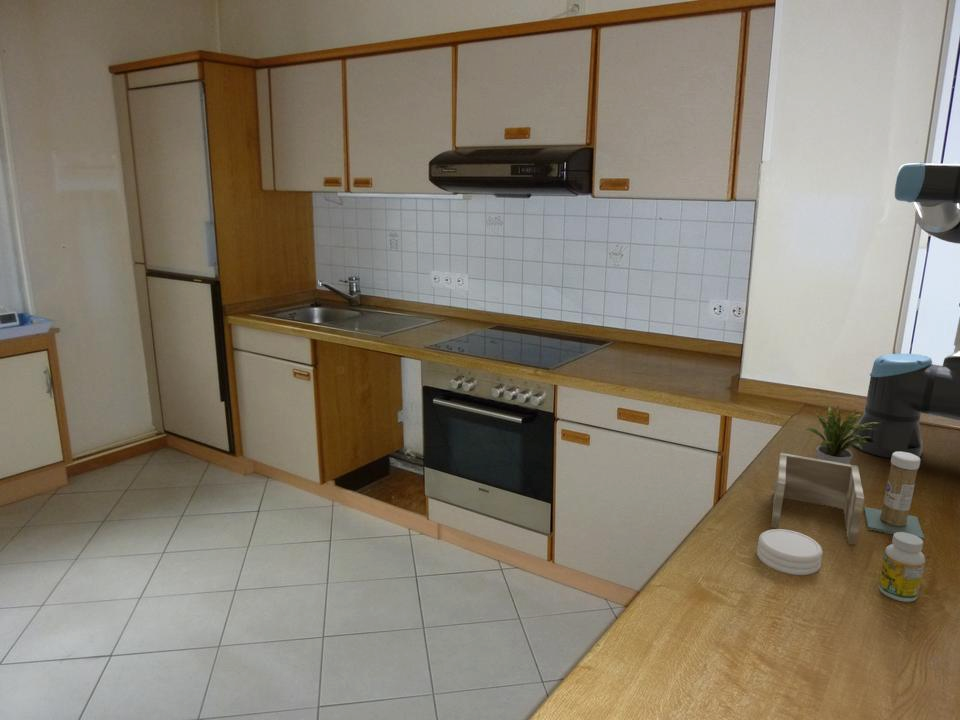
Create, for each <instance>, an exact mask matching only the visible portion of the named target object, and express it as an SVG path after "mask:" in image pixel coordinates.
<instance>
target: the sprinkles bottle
mask: <svg viewBox="0 0 960 720" xmlns="http://www.w3.org/2000/svg"><path fill="white" fill-rule="evenodd" d="M890 465H891V466H890V470H889V475H888V480H887V482H886V483H887V484H886V486H885V487H886V488H885V493H884V497H883V502H882V508H881V510H882V512H881V515H880V519H881V520H882V521H883V522H885V523H887V524H890V525H894V526H905V525H906V524H907V517H908V515H909V512H910V508H911V504H912V499H913V497H914V496H913V494H914V489H915V485H916V479H917V474H918V473H917V472H918V470H919V468H920V466H921V458H920V457H918V456H916V455H914V454H911V453H907V452H894V453H893V454H892V458H890Z"/></svg>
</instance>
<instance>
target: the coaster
mask: <svg viewBox="0 0 960 720" xmlns="http://www.w3.org/2000/svg"><path fill="white" fill-rule="evenodd" d="M823 553H824V552H823V548H822V546H821V544H820V543H818V542H817V541H816V540H815V539H813V538H812V537H810V536H808V535H806V534H803V533H801V532H798V531H795V530H789V529H782V528H778V529H777V528H772V529H769V530H765V531H763V532H761V534H759V536H758V542H757V549H756V554H757V557H758V559H759V560H760V561H761V562H762V563H763V564H764V565H766V566H767V567H769V568H770V569H773V570H776V571H777V572H781V573H782V574H783V573H784V574H789V575H793V576H808V575H813V574H815V573H817V572H818V571H819V570H820V568H821V562H822V556H823Z"/></svg>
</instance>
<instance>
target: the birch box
mask: <svg viewBox="0 0 960 720" xmlns="http://www.w3.org/2000/svg"><path fill="white" fill-rule="evenodd" d="M777 466H778V467H777V473H776V479H775V486H774V492H773V503H772V514H771V528H772V527H773V528H772V529H777V528H778V529H779V528H780V527H779V525H780V520H781V519H780V518H781V513H782V507H783V500H784V499H787V500H788V499H789V500H794V501H799V502H804V503H810V504H814V503H815V505H819V504H822V505H821V506H824V505H826V506H825V507H829V506H831V507H830V508H835V507H837V508H836V509H840V508H843V509H842V510H843V515H844V514H845V516H844V522H846V524H845V530H846V529H847V531H846V537H848V539H847V544H849V543H851V544H850V545H854V546H855V545H856V544H857V540H858V533H859V528H860V524H861V519H862V512H863V509H864V502H865V496H864V490H863V487H862V481H861V476H860V471H859V466H858V465H856V464H855V465H854V464H844V463H838V462H832V461H826V460H820V459H817V458H813V457H806V456H802V455H796V454H789V453H784V452H780V453H779V460H778V465H777Z"/></svg>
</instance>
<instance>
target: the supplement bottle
mask: <svg viewBox="0 0 960 720" xmlns="http://www.w3.org/2000/svg"><path fill="white" fill-rule="evenodd" d="M891 542H892V543H891V544H889V545H887V546H886V548H885V549H884V555H883V561H882V566H881V572H880V576H879V577H880V578H879V582H878V589H879V590H880V592H881V593H882V594H884V595H885V596H886V597H888V598H890V599H892V600H895V601H899V602H904V603H910V602H914V601H916V599H918V595H919V591H920V587H921V582H922V577H923V573H924V569H925V562H926V558H925V557H926V556H925V555H924V554H923V552H922V550H923V546H924V541H923V540H922V539H921V538H919V537H917V536H915V535H913V534H910V533H905V532H896V533H894V535H893V536H892V540H891Z"/></svg>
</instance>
